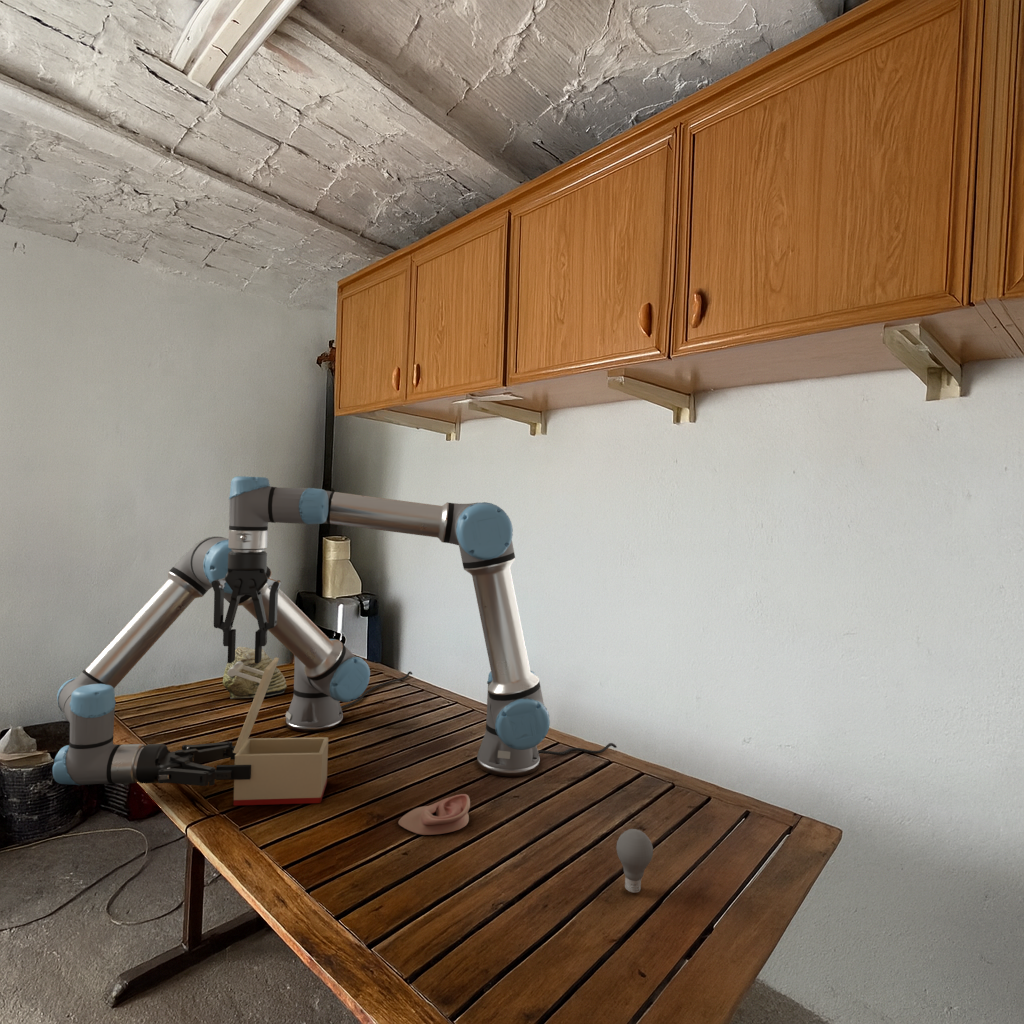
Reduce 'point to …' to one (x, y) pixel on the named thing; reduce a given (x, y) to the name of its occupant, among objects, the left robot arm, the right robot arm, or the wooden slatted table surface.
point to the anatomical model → (438, 816)
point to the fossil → (248, 687)
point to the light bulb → (634, 857)
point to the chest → (282, 771)
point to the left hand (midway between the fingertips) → (256, 761)
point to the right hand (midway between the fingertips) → (244, 661)
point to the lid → (257, 699)
